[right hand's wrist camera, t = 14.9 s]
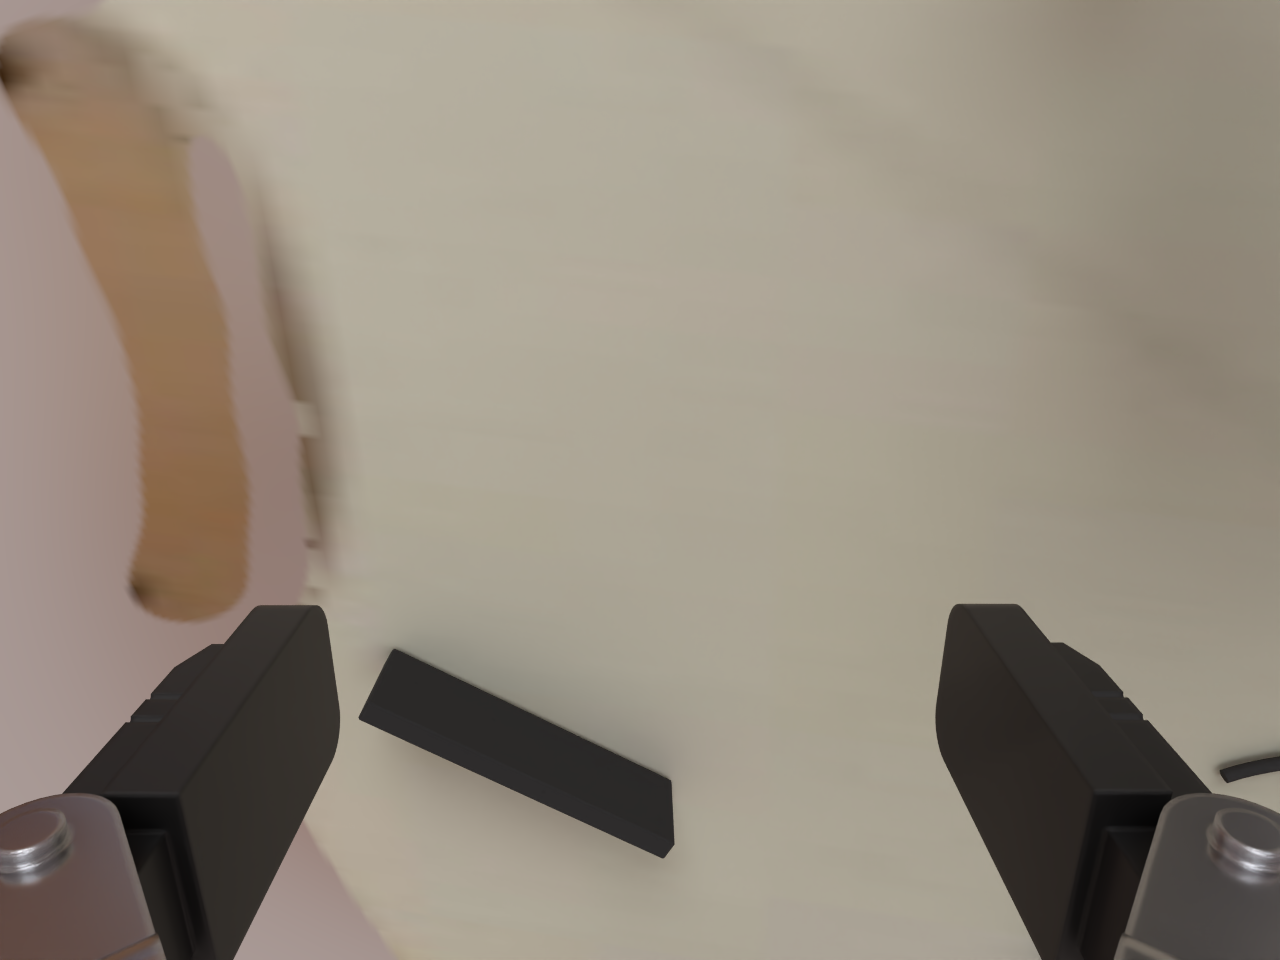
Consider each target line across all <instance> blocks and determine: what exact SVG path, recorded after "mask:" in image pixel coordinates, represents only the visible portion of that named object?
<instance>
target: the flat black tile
mask: <svg viewBox="0 0 1280 960" xmlns="http://www.w3.org/2000/svg"><path fill="white" fill-rule="evenodd" d="M359 720H361V721H363V722H366V723H368V724H370V725H372V726H374V727H377V728H379V729H381V730H383V731H385V732H388V733H390V734H392V735H394V736H396V737H398V738H401V739H403V740H405V741H407V742H409V743H412V744H414V745H416V746H418V747H420V748H422V749H425V750H427V751H429V752H431V753H433V754H436V755H438V756H440V757H442V758H444V759H446V760H449V761H451V762H453V763H455V764H457V765H460V766H462V767H464V768H466V769H468V770H471V771H473V772H475V773H477V774H479V775H481V776H484V777H486V778H488V779H490V780H492V781H495V782H497V783H499V784H501V785H503V786H505V787H508V788H510V789H512V790H514V791H516V792H519V793H521V794H523V795H525V796H527V797H529V798H532V799H534V800H536V801H538V802H540V803H543V804H545V805H547V806H549V807H551V808H553V809H556V810H558V811H560V812H562V813H564V814H567V815H569V816H571V817H573V818H575V819H578V820H580V821H582V822H584V823H586V824H588V825H591V826H593V827H595V828H597V829H599V830H602V831H604V832H606V833H608V834H610V835H612V836H615V837H617V838H619V839H621V840H623V841H626V842H628V843H630V844H632V845H634V846H636V847H639V848H641V849H643V850H645V851H647V852H650V853H652V854H654V855H656V856H658V857H660V858H665V856H666V855H667V854H668V852H669V851H670V850H671V848H672V847H673V846H674V825H673V804H672V784H671V780H669V779H667V778H664V777H662V776H660V775H658V774H656V773H654V772H652V771H650V770H648V769H646V768H644V767H641V766H639V765H637V764H635V763H633V762H631V761H629V760H627V759H625V758H623V757H620V756H618V755H616V754H614V753H612V752H610V751H608V750H606V749H604V748H602V747H599V746H597V745H595V744H593V743H591V742H589V741H587V740H585V739H583V738H581V737H579V736H576V735H574V734H572V733H570V732H568V731H566V730H564V729H562V728H560V727H558V726H555V725H553V724H551V723H549V722H547V721H545V720H543V719H541V718H539V717H537V716H534V715H532V714H530V713H528V712H526V711H524V710H522V709H520V708H518V707H516V706H514V705H511V704H509V703H507V702H505V701H503V700H501V699H499V698H497V697H495V696H493V695H490V694H488V693H486V692H484V691H482V690H480V689H478V688H476V687H474V686H472V685H469V684H467V683H465V682H463V681H461V680H459V679H457V678H455V677H453V676H451V675H449V674H446V673H444V672H442V671H440V670H438V669H436V668H434V667H432V666H430V665H428V664H425V663H423V662H421V661H419V660H417V659H415V658H413V657H411V656H409V655H407V654H404V653H402V652H400V651H398V650H396V649H393V650H392V652H391V654H390V655H389V657H388V659H387V661H386V663H385V664H384V666H383V669H382V671H381V673H380V675H379V677H378V679H377V681H376V683H375V685H374V687H373V689H372V691H371V693H370V695H369V697H368V699H367V701H366V703H365V705H364V707H363V709H362V711H361V713H360V715H359Z"/></svg>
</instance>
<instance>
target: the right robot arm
mask: <svg viewBox="0 0 1280 960" xmlns="http://www.w3.org/2000/svg"><path fill="white" fill-rule="evenodd" d="M339 730H340V709H339V701H338V694H337V687H336V680H335V673H334V666H333V659H332V652H331V645H330V638H329V631H328V624H327V619H326V616H325V613H324V611H323V610H322V608H321V607H320V606H317V605H260V606H257V607H255V608H254V609H253V610H252V611H251V612H250V613H249V615H248V616H247V617H246V618H245V619H244V621H243V622H242V623H241V624H240V625H239V627H238V628H237V629H236V630H235V631H234V633H233V634H232V635H231V636H230V637H229V639H228V640H227V641H226V642H225V643H224V644H211V645H210V646H208V647H206V648H205V649H203V650H202V651H200V652H198V653H197V654H195V655H194V656H192V657H190V658H189V659H187V660H185V661H184V662H182V663H181V664H179V665H177V666H176V667H174V669H173V670H172V671H171V672H170V673H169V674H168V675H167V676H166V678H165V679H164V680H163V681H162V682H161V683H160V684H159V685H158V687H157V688H156V689H155V690H154V691H153V692H152V693H151V698H150V699H148V700H147V699H146V700H145V701H144V702H143V703H142V705H141V706H140V707H139V708H138V709H137V710H136V711H135V712H134V714H133V715H132V716H131V721H130V722H126V723H125V724H124V725H123V726H122V727H121V728H120V729H119V731H118V732H117V733H116V734H115V735H114V736H113V737H112V738H111V739H110V741H109V742H108V743H107V744H106V745H105V746H104V747H103V748H102V750H101V751H100V752H99V753H98V754H97V755H96V756H95V757H94V759H93V760H92V761H91V762H90V763H89V764H88V765H87V766H86V768H85V769H84V770H83V771H82V772H81V773H80V774H79V775H78V777H77V778H76V779H75V780H74V781H73V782H72V783H71V784H70V786H69V787H68V788H67V789H66V790H65V791H64V792H63V794H60V795H53V796H49V797H44V798H40V799H37V800H33V801H30V802H27V803H24V804H22V805H19V806H17V807H14V808H11V809H9V810H7V811H5V812H3V813H1V814H0V960H233V959H234V957H235V955H236V953H237V951H238V949H239V947H240V945H241V943H242V941H243V939H244V937H245V935H246V933H247V931H248V929H249V927H250V925H251V923H252V921H253V919H254V917H255V915H256V913H257V911H258V909H259V907H260V905H261V903H262V901H263V899H264V897H265V895H266V893H267V891H268V889H269V887H270V885H271V883H272V881H273V879H274V877H275V875H276V873H277V871H278V869H279V867H280V865H281V863H282V861H283V859H284V857H285V855H286V853H287V851H288V849H289V847H290V845H291V843H292V841H293V838H294V837H295V835H296V833H297V831H298V829H299V827H300V825H301V823H302V821H303V819H304V817H305V815H306V813H307V811H308V809H309V807H310V805H311V803H312V801H313V799H314V797H315V794H316V792H317V790H318V788H319V786H320V784H321V782H322V780H323V778H324V776H325V774H326V772H327V770H328V768H329V766H330V764H331V762H332V760H333V758H334V755H335V752H336V748H337V744H338V738H339ZM936 733H937V739H938V744H939V748H940V752H941V755H942V757H943V760H944V762H945V764H946V766H947V768H948V770H949V772H950V774H951V776H952V778H953V780H954V782H955V784H956V786H957V788H958V790H959V792H960V794H961V796H962V798H963V800H964V803H965V805H966V807H967V809H968V811H969V813H970V815H971V817H972V819H973V821H974V823H975V825H976V827H977V829H978V831H979V833H980V835H981V837H982V839H983V841H984V843H985V845H986V847H987V849H988V851H989V853H990V855H991V857H992V859H993V861H994V863H995V865H996V867H997V870H998V872H999V874H1000V876H1001V878H1002V880H1003V882H1004V884H1005V886H1006V888H1007V890H1008V892H1009V894H1010V896H1011V898H1012V900H1013V902H1014V904H1015V906H1016V908H1017V910H1018V912H1019V914H1020V916H1021V918H1022V920H1023V922H1024V924H1025V926H1026V928H1027V930H1028V932H1029V935H1030V937H1031V939H1032V941H1033V943H1034V945H1035V947H1036V949H1037V951H1038V953H1039V955H1040V957H1041V959H1042V960H1280V814H1279V813H1277V812H1275V811H1273V810H1271V809H1269V808H1266V807H1263V806H1261V805H1258V804H1256V803H1253V802H1250V801H1247V800H1243V799H1240V798H1236V797H1231V796H1227V795H1220V794H1213V793H1211V791H1210V790H1209V789H1208V788H1207V787H1206V786H1205V785H1204V783H1203V782H1202V781H1201V780H1200V779H1199V778H1198V777H1197V775H1196V774H1195V773H1194V772H1193V771H1192V770H1191V769H1190V768H1189V766H1188V765H1187V764H1186V763H1185V762H1184V761H1183V760H1182V758H1181V757H1180V756H1179V755H1178V754H1177V753H1176V752H1175V751H1174V749H1173V748H1172V747H1171V746H1170V745H1169V744H1168V743H1167V741H1166V740H1165V739H1164V738H1163V737H1162V736H1161V735H1160V733H1159V732H1158V731H1157V730H1156V729H1155V728H1154V727H1153V726H1152V724H1151V723H1150V722H1149V721H1148V720H1143V714H1142V713H1141V712H1140V711H1139V710H1138V708H1137V707H1136V706H1135V705H1134V704H1133V703H1132V702H1131V701H1130V699H1129V698H1124V697H1123V691H1122V690H1121V689H1120V688H1119V687H1118V686H1117V685H1116V683H1115V682H1114V681H1113V680H1112V679H1111V678H1110V677H1109V676H1108V674H1107V673H1106V672H1105V671H1104V670H1103V669H1102V668H1101V666H1100V665H1098V664H1096V663H1095V662H1093V661H1092V660H1090V659H1088V658H1087V657H1085V656H1084V655H1082V654H1080V653H1079V652H1077V651H1076V650H1074V649H1072V648H1071V647H1069V646H1068V645H1066V644H1064V643H1050V641H1049V640H1048V639H1047V638H1046V636H1045V635H1044V634H1043V633H1042V632H1041V630H1040V629H1039V628H1038V627H1037V626H1036V624H1035V623H1034V622H1033V621H1032V619H1031V618H1030V617H1029V616H1028V615H1027V613H1026V612H1025V611H1024V610H1023V609H1022V608H1021V607H1020V606H1019V605H1017V604H957V605H955V606H954V607H953V609H952V610H951V613H950V615H949V619H948V624H947V632H946V639H945V646H944V653H943V660H942V667H941V675H940V682H939V689H938V696H937V703H936ZM1275 771H1280V756H1279V757H1273V758H1268V759H1262V760H1257V761H1252V762H1248V763H1244V764H1240V765H1236V766H1232V767H1229V768H1226V769H1223V770H1220V774H1221V776H1222V777H1223V779H1224V780H1225V781H1226V782H1227V783H1229V782H1232V781H1236V780H1239V779H1242V778H1246V777H1250V776H1254V775H1259V774H1264V773H1270V772H1275Z"/></svg>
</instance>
